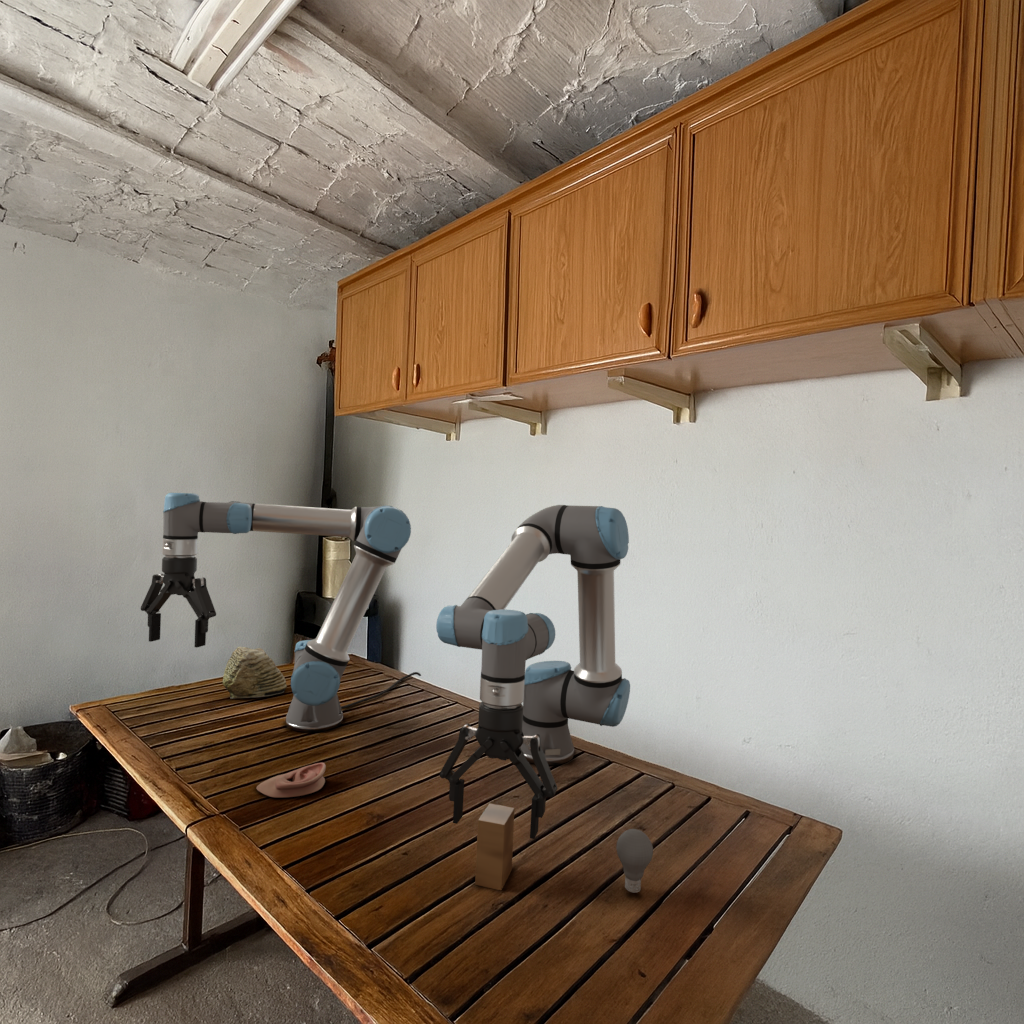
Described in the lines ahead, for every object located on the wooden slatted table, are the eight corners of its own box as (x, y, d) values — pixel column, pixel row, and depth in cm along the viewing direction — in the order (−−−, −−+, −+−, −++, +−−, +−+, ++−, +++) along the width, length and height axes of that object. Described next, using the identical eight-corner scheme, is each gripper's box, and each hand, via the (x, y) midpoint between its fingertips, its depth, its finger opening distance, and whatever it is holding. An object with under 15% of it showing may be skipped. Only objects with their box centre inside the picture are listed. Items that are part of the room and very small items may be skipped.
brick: (486, 864, 112) (489, 803, 111) (511, 870, 110) (514, 807, 110) (475, 884, 106) (477, 819, 105) (501, 890, 104) (504, 825, 104)
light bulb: (610, 879, 108) (613, 822, 108) (644, 879, 109) (647, 822, 109) (619, 902, 102) (622, 840, 102) (655, 901, 103) (658, 840, 103)
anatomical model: (248, 775, 133) (279, 754, 144) (247, 794, 133) (278, 771, 144) (306, 783, 130) (332, 761, 142) (305, 802, 130) (332, 779, 142)
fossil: (218, 695, 195) (220, 647, 195) (278, 685, 208) (279, 640, 207) (228, 703, 189) (230, 653, 188) (289, 692, 201) (290, 645, 201)
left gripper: (125, 554, 153) (123, 641, 154) (211, 561, 147) (208, 652, 147) (151, 551, 161) (148, 635, 161) (233, 558, 154) (230, 645, 154)
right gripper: (424, 699, 107) (418, 823, 107) (569, 719, 100) (562, 852, 100) (441, 687, 114) (435, 804, 115) (578, 706, 108) (571, 830, 108)
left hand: (176, 643), depth 154 cm, fingers open, 13 cm apart
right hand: (495, 827), depth 108 cm, fingers open, 13 cm apart
